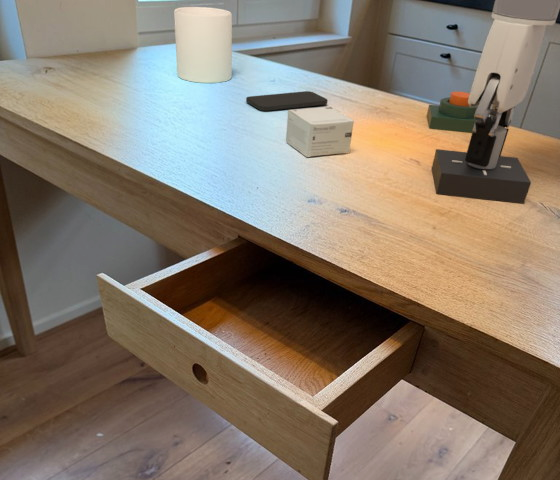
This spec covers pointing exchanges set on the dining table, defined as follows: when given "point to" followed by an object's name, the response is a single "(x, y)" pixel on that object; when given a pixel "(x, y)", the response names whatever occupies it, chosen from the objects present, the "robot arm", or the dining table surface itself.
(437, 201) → the dining table surface
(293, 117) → the small box
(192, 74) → the cup
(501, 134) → the knob
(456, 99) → the button
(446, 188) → the control panel
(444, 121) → the button block
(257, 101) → the phone
